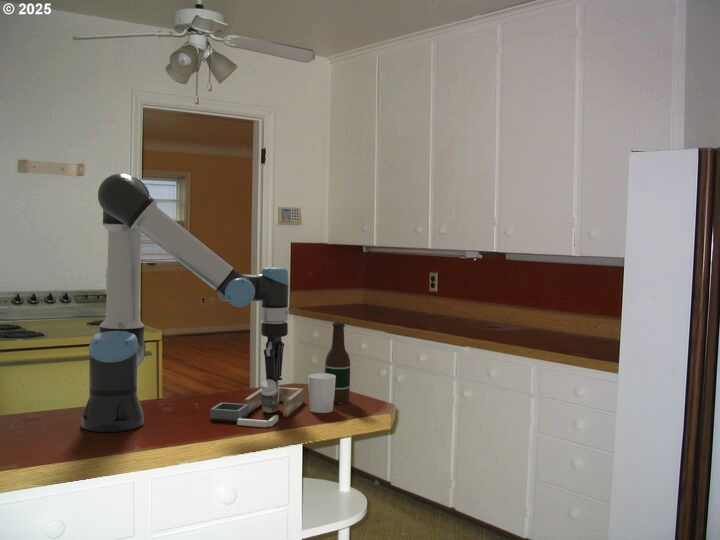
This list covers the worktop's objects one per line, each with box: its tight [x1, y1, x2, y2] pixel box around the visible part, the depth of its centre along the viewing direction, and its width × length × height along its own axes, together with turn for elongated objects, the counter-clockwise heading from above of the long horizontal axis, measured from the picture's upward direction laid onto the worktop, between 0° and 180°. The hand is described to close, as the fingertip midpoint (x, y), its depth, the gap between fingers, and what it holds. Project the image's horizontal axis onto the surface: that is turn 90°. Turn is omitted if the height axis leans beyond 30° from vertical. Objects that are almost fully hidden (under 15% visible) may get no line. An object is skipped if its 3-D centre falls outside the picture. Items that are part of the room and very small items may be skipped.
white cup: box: [307, 372, 336, 414], centre depth 208 cm, size 8×8×10 cm
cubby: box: [244, 386, 305, 417], centre depth 210 cm, size 12×18×4 cm
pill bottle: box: [260, 379, 279, 414], centre depth 204 cm, size 5×5×8 cm
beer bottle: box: [324, 321, 351, 405], centre depth 220 cm, size 8×8×24 cm
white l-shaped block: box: [236, 414, 279, 428], centre depth 193 cm, size 9×7×2 cm
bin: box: [209, 402, 250, 423], centre depth 198 cm, size 8×8×3 cm
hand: (273, 403), depth 208 cm, fingers closed
